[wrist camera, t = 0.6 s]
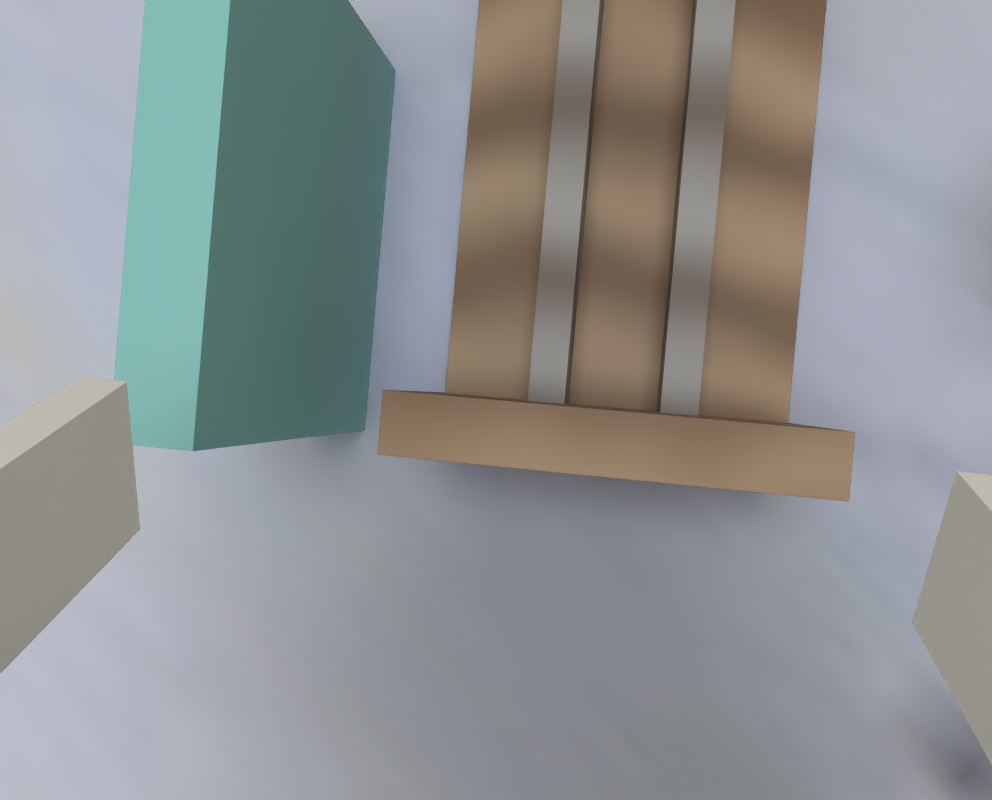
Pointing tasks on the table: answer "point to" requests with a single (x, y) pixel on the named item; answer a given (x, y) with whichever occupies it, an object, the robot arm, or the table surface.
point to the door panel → (253, 222)
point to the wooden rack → (633, 249)
